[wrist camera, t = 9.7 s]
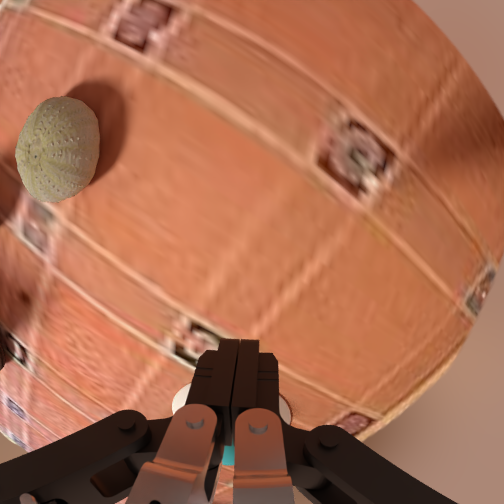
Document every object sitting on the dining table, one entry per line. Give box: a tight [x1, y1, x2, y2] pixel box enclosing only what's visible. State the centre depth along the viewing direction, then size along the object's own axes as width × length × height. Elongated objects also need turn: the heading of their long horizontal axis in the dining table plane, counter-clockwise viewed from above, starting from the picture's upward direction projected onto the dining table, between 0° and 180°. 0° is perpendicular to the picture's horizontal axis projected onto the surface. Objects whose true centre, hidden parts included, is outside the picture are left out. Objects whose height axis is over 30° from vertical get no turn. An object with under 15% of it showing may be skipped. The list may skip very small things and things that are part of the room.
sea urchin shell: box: [15, 96, 100, 203], centre depth 20 cm, size 9×8×8 cm
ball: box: [222, 440, 235, 465], centre depth 29 cm, size 6×6×6 cm
